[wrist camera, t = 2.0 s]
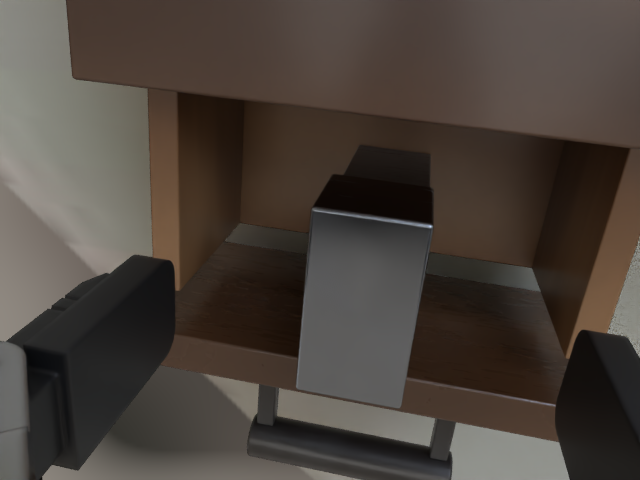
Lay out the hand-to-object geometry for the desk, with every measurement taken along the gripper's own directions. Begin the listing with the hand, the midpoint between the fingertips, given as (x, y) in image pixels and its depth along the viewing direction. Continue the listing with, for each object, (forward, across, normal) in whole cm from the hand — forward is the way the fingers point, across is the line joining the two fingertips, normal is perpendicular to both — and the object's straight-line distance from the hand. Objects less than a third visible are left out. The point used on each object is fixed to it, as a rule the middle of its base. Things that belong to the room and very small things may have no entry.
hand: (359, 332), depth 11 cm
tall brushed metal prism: (+9, 0, 0) cm, 9 cm away
